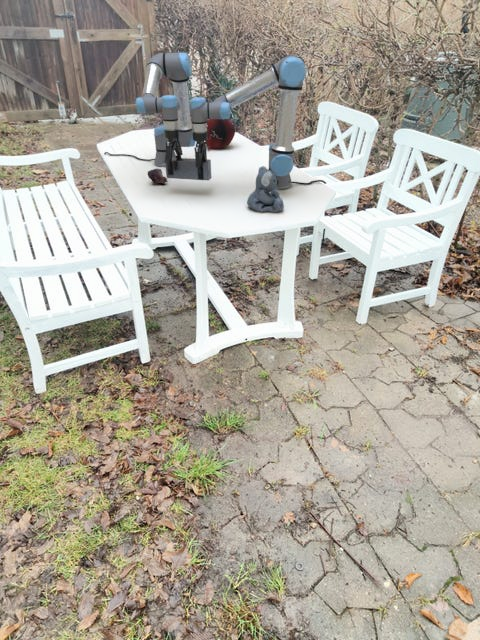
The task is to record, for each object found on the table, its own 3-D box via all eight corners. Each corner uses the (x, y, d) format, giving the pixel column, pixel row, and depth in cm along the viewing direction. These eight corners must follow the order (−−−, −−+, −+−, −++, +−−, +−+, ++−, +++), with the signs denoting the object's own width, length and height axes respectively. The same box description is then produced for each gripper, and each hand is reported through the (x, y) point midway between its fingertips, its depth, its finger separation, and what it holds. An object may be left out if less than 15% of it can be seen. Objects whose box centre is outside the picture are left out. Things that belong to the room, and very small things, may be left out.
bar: (166, 178, 242) (164, 160, 236) (170, 175, 246) (168, 157, 241) (208, 180, 238) (207, 162, 232) (211, 177, 242) (210, 159, 236)
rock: (162, 181, 267) (146, 183, 263) (160, 166, 263) (144, 168, 259) (169, 183, 258) (152, 185, 254) (167, 168, 254) (150, 170, 250)
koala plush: (284, 213, 221) (286, 172, 209) (248, 214, 219) (248, 174, 208) (279, 200, 235) (281, 162, 224) (245, 202, 234) (245, 163, 223)
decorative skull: (200, 122, 333) (198, 119, 310) (231, 115, 333) (232, 111, 309) (207, 152, 340) (206, 151, 317) (237, 145, 339) (238, 143, 316)
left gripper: (170, 134, 219) (174, 178, 231) (186, 124, 239) (189, 165, 251) (155, 134, 220) (160, 177, 232) (172, 124, 240) (176, 164, 252)
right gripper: (201, 136, 219) (204, 183, 232) (211, 128, 234) (213, 173, 247) (187, 135, 220) (190, 182, 234) (197, 127, 235) (200, 172, 248)
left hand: (175, 171), depth 241 cm, fingers open, 13 cm apart
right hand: (202, 177), depth 240 cm, fingers closed on bar, 5 cm apart
